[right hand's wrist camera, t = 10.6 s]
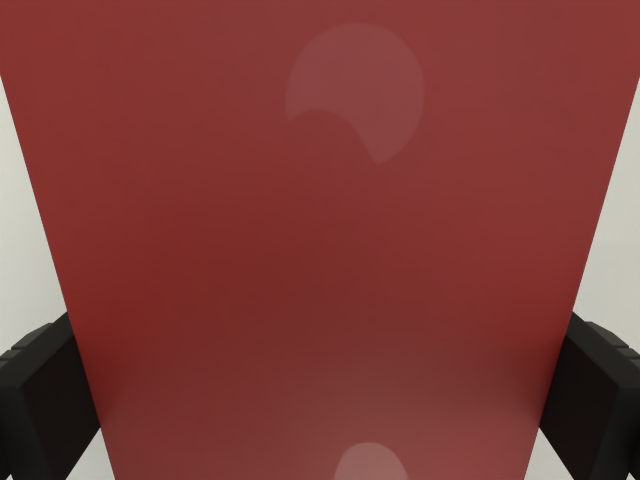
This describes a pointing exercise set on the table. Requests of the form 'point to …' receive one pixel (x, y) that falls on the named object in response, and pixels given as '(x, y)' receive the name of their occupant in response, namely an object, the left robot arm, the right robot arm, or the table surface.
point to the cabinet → (319, 221)
